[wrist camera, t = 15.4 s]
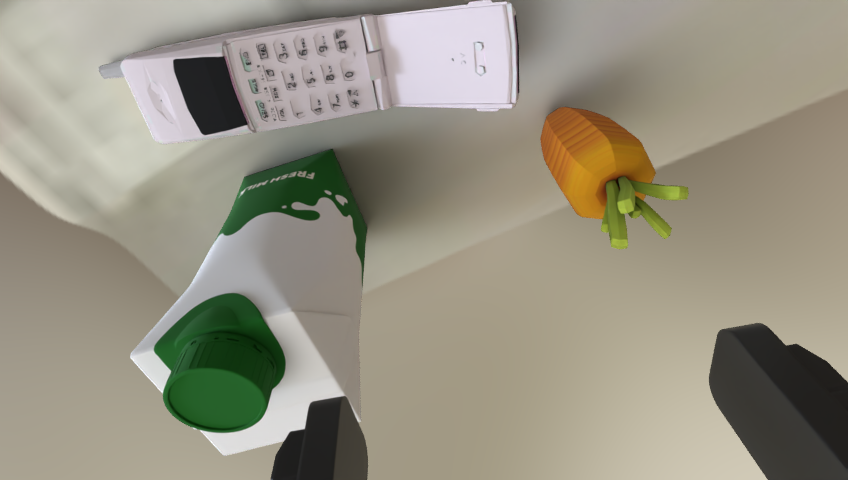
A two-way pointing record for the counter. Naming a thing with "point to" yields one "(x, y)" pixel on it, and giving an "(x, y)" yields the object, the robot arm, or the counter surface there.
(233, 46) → the mobile phone
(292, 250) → the milk carton
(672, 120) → the counter surface
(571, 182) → the carrot
